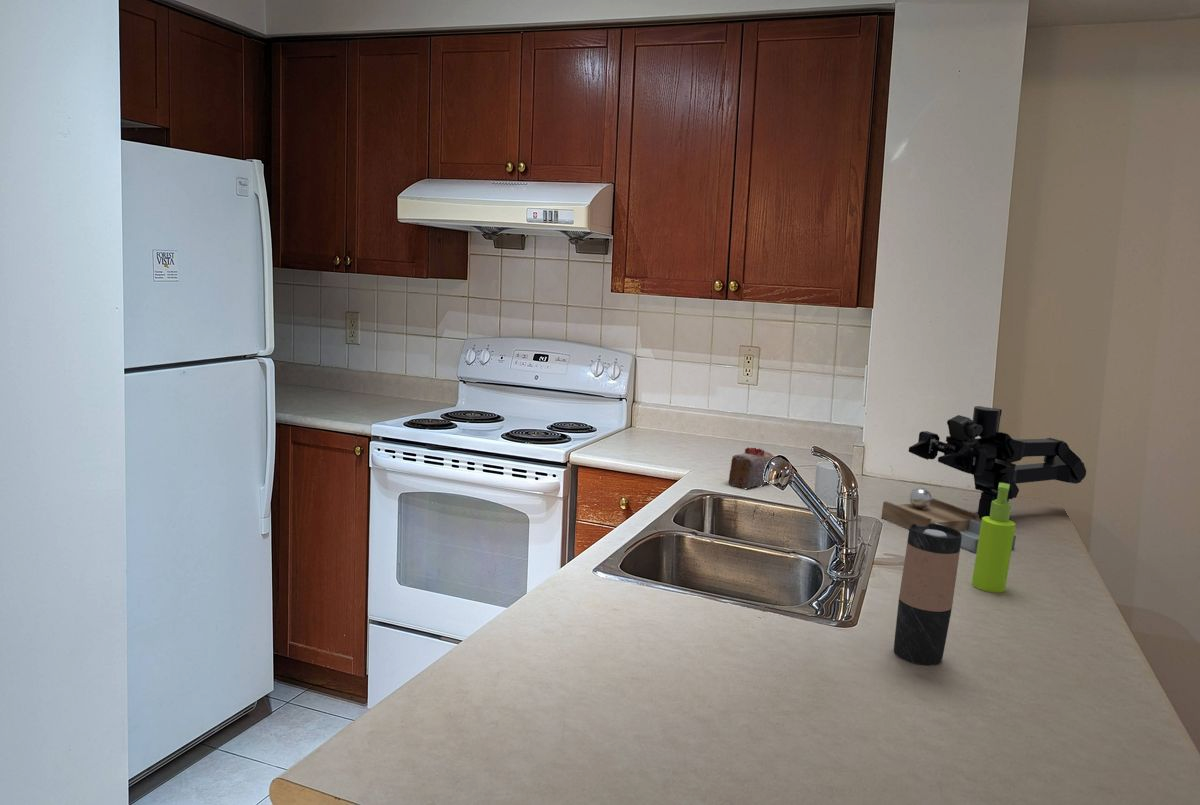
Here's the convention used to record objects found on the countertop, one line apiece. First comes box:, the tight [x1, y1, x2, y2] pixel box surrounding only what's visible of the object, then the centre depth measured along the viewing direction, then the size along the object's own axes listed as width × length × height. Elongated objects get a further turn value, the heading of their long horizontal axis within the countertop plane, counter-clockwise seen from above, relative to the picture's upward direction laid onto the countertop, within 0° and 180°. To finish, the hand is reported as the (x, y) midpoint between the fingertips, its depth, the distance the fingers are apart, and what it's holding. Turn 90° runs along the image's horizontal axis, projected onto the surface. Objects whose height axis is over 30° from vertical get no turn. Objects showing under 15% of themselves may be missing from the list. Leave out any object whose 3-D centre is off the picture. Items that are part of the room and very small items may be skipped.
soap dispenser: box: [971, 482, 1016, 594], centre depth 174 cm, size 6×7×20 cm
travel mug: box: [893, 523, 962, 666], centre depth 139 cm, size 8×8×20 cm
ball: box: [908, 486, 933, 509], centre depth 217 cm, size 5×5×5 cm
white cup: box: [814, 461, 850, 507], centre depth 225 cm, size 8×8×10 cm
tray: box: [934, 520, 1017, 554], centre depth 204 cm, size 12×12×3 cm
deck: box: [881, 497, 980, 532], centre depth 215 cm, size 16×14×4 cm
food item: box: [727, 446, 775, 489], centre depth 240 cm, size 14×8×10 cm, turn 142°
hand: (923, 454), depth 212 cm, fingers open, 9 cm apart
